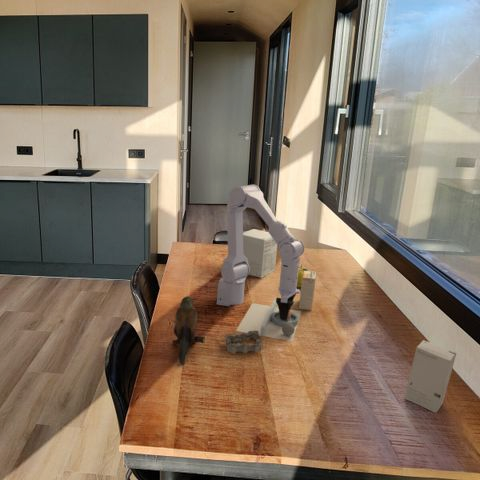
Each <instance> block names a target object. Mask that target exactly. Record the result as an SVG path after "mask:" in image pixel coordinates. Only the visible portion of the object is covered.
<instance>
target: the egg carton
mask: <svg viewBox="0 0 480 480" xmlns="http://www.w3.org/2000/svg"><path fill="white" fill-rule="evenodd" d="M224 337H225V346H226V351H227V352H229V353H231V354H236V353H237V352H241V353H242V354H247V353H248V352H253V353H255V354H257V353H259V352H260V351H262V346H263V342H262V339H261V336H260V335H259V332H258V331H255V330H254V331H249V332H248V333H244V332H241V333H235V334H231V335H229V334H225V335H224ZM251 339H254V340H255V344H254V343H247V344H245V343H244V344H243V340H244V341H250V340H251ZM232 340H233V341H232Z"/></svg>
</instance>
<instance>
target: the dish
mask: <svg viewBox="0 0 480 480" xmlns="http://www.w3.org/2000/svg"><path fill="white" fill-rule="evenodd" d="M298 318H299V317H298V316H297V315H295V314H294V313H292V312H291V317H290V318H289V319H288V320H283V319H280V315H279V311H278V312H273V314H272V316H271V321H272V322H273V323H274V324H276V325H278V326H281V327H282V326H283V325H284V324H285V323H291V324H293V326H296V325H297V326H298V325H299V321H298ZM299 319H300V318H299Z"/></svg>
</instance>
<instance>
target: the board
mask: <svg viewBox="0 0 480 480" xmlns="http://www.w3.org/2000/svg"><path fill="white" fill-rule="evenodd" d="M270 308H271V305H266V304H261V303H255V302H254V303H253V302H252V303H251V304H250V307H249V308H248V310H247V311H246V313H245V315H244V316H243V318H242V320H241V321H240V323H239V325H238V326H237V328H236V329H235V332H239V333H248V332H249V331H254V330H255V331H258V332H259V336H260V337H262V336H261V326H262V324H263V322H264V320H265V318H266V316H267V314H268V312H269V310H270ZM278 311H279V308H278V306H277V307H276V310H275V312H278ZM290 311H291V312H292V313H294V314H295V315H297V316H298V317H299V318H298V322H299V320H300V317H301V314H302V311H301V310H295V309H292V308H291V309H290ZM297 327H298V324H297V325H296V326H294V328H295V331H294V333H293V334H292V335H290V336H287V335H285V334H284V333H283V332H282V327H281V326H278V325H276V324H274V323H273V322H272V321H270V323H269V325H268V328H267V330H266V332H265V334H264V336H263V337H267V338H272V339H277V340H283V341H288V342H293V341H294V337H295V334H296V330H297Z"/></svg>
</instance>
